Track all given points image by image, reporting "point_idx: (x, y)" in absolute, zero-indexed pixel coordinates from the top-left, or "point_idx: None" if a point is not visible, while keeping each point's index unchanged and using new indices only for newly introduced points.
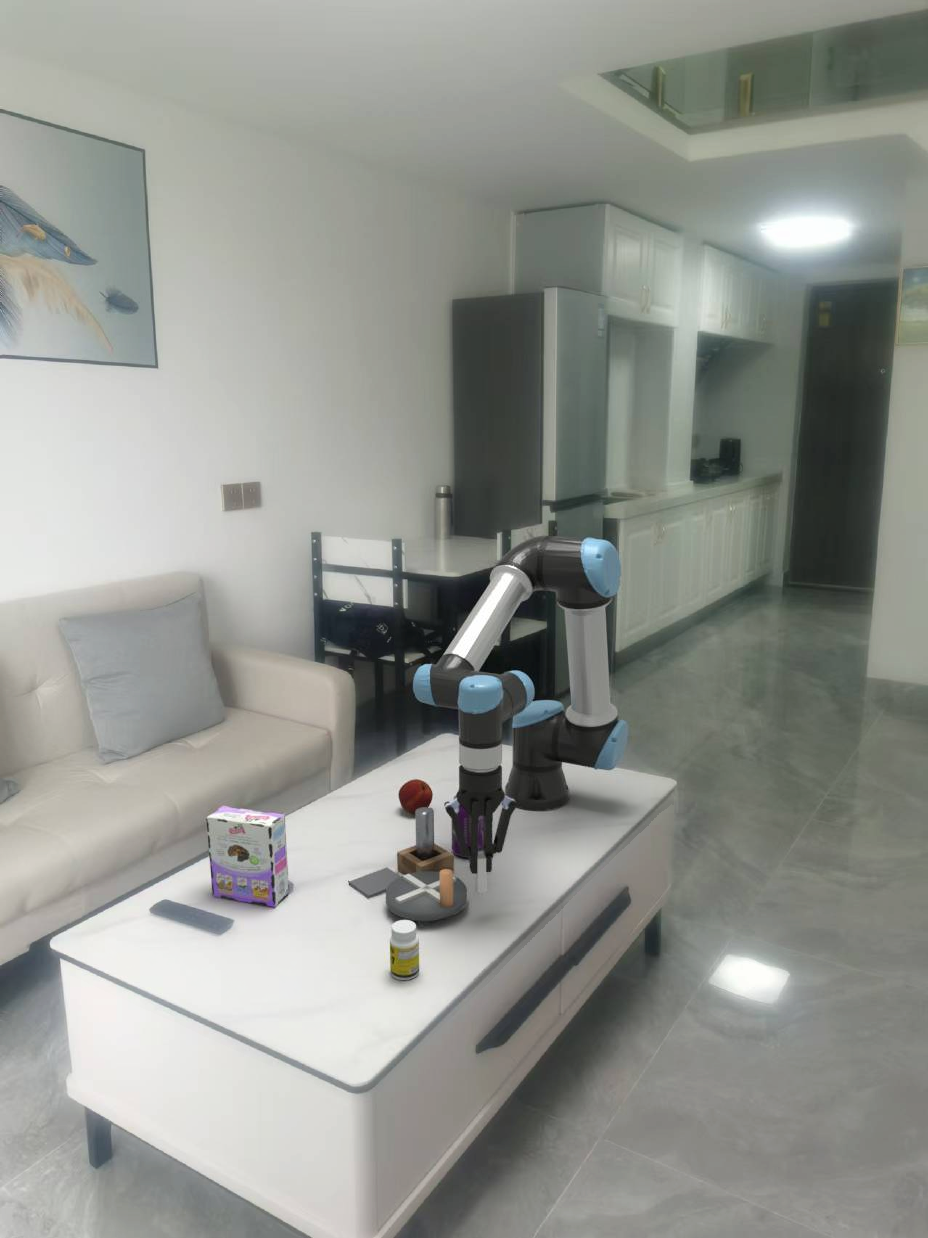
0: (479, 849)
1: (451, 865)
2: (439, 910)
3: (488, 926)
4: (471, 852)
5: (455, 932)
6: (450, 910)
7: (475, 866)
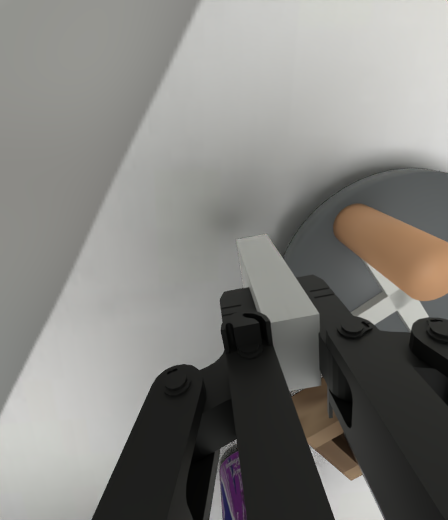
0: (234, 466)
1: (300, 412)
2: (383, 184)
3: (219, 181)
4: (387, 342)
5: (313, 149)
6: (341, 199)
7: (309, 296)
